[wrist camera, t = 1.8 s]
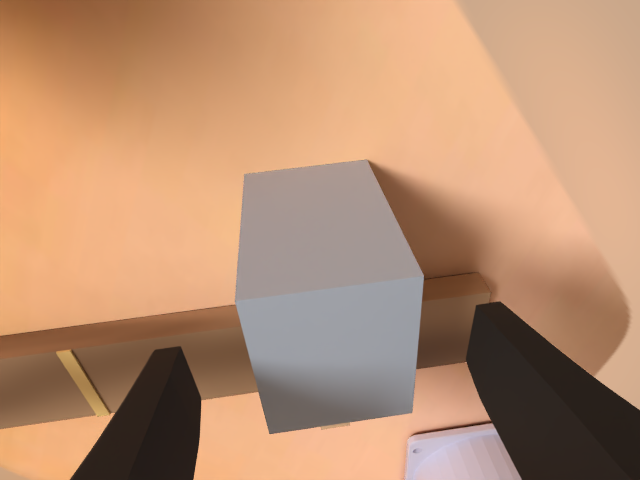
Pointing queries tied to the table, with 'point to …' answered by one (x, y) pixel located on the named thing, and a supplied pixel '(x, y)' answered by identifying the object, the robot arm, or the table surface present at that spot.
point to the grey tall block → (327, 297)
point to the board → (198, 347)
